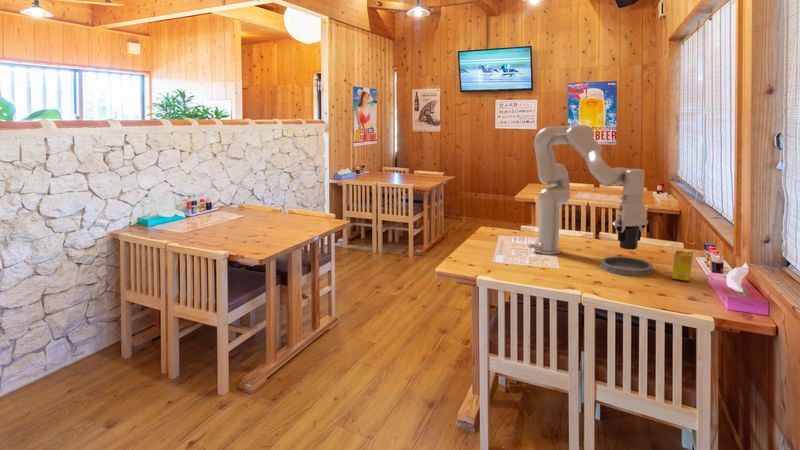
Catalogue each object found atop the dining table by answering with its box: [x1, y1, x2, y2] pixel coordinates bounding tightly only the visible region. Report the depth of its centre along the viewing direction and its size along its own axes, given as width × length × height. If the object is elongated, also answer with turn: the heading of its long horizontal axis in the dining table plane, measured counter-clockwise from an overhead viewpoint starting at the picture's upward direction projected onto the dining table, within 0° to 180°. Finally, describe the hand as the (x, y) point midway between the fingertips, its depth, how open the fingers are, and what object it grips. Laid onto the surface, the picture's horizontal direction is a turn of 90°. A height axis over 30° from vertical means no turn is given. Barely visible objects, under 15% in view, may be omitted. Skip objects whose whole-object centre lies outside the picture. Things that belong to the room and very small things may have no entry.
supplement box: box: [671, 250, 694, 284], centre depth 182 cm, size 6×6×11 cm
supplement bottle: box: [619, 226, 639, 250], centre depth 194 cm, size 7×7×12 cm
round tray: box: [599, 256, 654, 277], centre depth 197 cm, size 20×20×2 cm
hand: (628, 240), depth 195 cm, fingers closed on supplement bottle, 6 cm apart
